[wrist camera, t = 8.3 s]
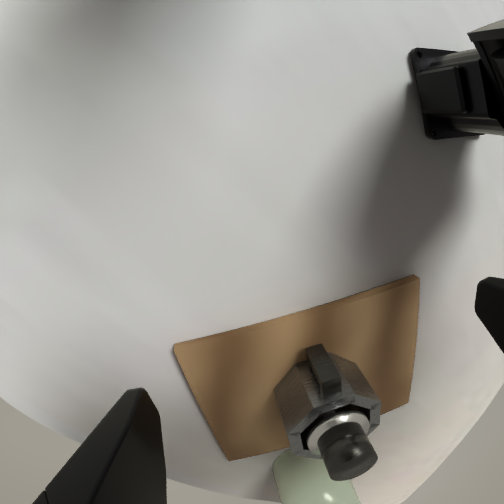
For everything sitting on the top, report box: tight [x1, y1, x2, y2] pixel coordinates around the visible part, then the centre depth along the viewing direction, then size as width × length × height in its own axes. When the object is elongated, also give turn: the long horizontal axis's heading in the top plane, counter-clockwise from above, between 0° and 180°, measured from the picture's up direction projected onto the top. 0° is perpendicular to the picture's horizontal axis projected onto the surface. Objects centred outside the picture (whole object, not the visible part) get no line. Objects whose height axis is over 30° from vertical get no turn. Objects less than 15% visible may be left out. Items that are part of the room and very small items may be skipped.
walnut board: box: [174, 275, 420, 461], centre depth 24 cm, size 18×14×1 cm
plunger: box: [306, 410, 378, 481], centre depth 19 cm, size 4×4×7 cm
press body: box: [273, 343, 381, 459], centre depth 21 cm, size 7×8×5 cm
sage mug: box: [272, 449, 361, 504], centre depth 25 cm, size 7×9×8 cm
